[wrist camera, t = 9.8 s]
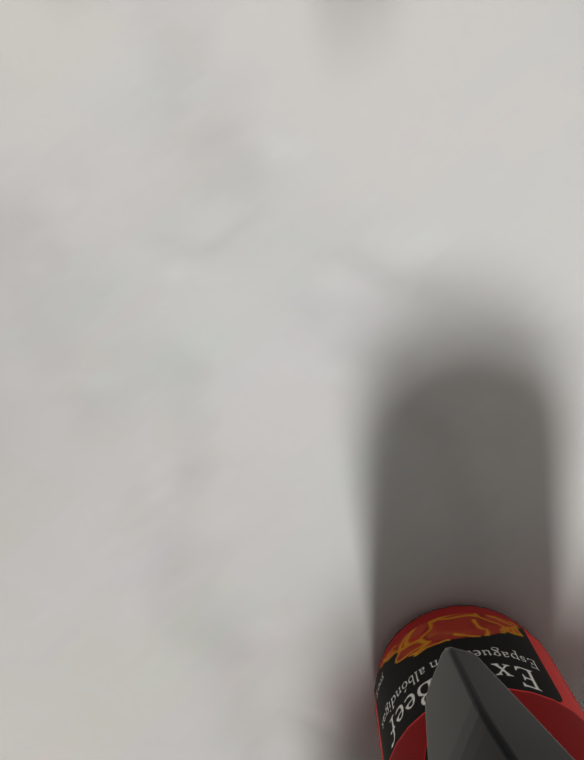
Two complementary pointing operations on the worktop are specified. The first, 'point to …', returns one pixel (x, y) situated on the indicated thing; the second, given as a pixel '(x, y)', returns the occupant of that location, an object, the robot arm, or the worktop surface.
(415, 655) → the canned food
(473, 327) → the worktop surface
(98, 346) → the worktop surface
